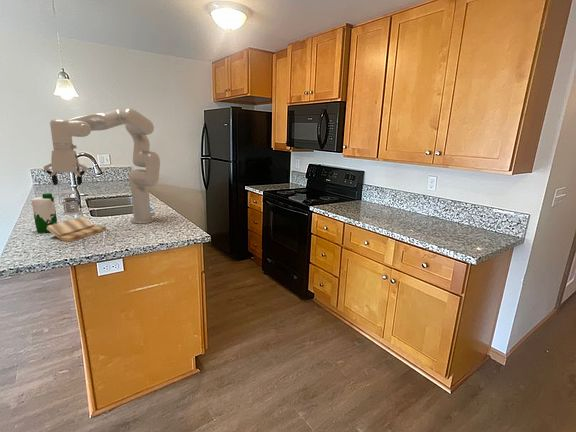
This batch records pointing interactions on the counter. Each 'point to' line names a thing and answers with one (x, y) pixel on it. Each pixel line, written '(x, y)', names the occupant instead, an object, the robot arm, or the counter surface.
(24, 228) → the counter surface
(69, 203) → the french press
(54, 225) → the tan wooden board
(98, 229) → the laid floor row
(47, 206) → the milk carton
